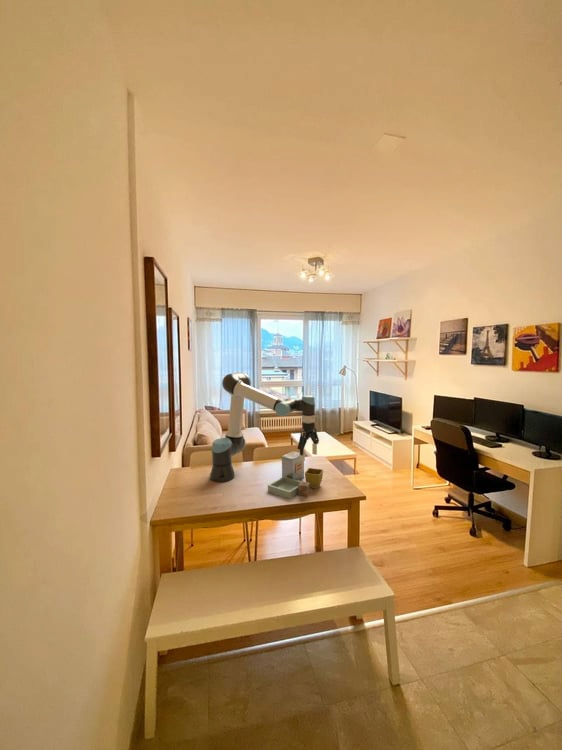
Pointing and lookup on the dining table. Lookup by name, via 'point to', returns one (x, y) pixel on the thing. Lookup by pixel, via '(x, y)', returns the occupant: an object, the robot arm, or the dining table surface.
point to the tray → (284, 487)
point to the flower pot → (314, 477)
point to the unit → (292, 466)
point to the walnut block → (304, 489)
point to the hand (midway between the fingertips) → (308, 457)
